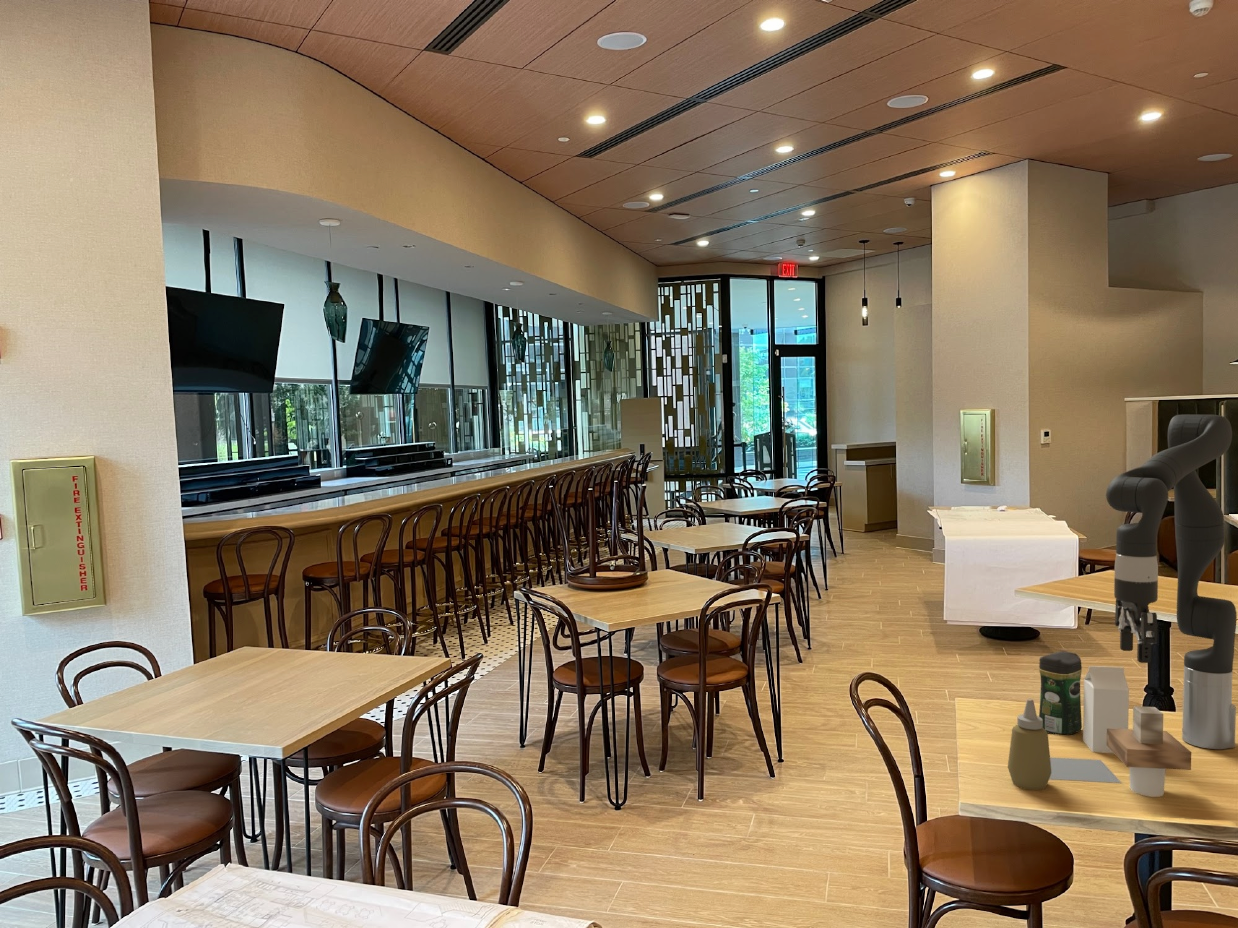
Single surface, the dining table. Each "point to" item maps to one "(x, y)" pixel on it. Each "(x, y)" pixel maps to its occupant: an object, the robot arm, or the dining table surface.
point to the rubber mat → (1081, 770)
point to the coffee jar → (1060, 693)
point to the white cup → (1147, 781)
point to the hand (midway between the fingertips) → (1134, 656)
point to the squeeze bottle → (1029, 751)
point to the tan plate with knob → (1148, 743)
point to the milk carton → (1104, 705)
